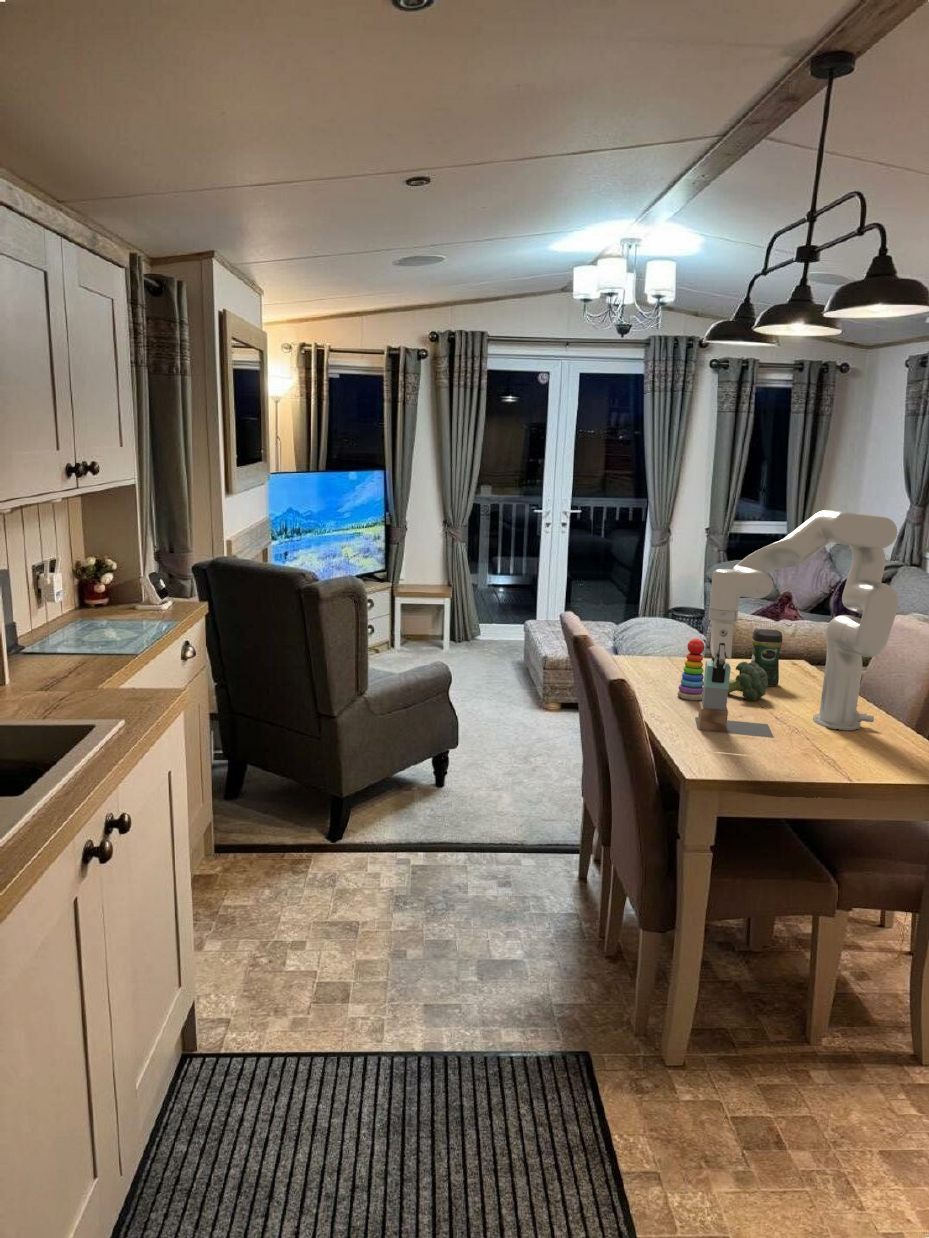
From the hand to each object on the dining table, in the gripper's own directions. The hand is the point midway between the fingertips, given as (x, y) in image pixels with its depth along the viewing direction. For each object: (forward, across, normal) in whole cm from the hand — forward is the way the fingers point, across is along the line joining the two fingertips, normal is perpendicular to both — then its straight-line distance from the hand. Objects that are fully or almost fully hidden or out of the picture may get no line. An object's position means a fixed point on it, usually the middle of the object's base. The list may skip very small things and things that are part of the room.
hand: (716, 678), depth 235 cm
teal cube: (+2, 0, 0) cm, 2 cm away
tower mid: (+8, 0, 0) cm, 8 cm away
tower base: (+14, 0, 0) cm, 14 cm away
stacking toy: (+15, +30, +4) cm, 34 cm away
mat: (+14, +2, -6) cm, 16 cm away
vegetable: (+15, +36, -13) cm, 41 cm away
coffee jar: (+15, +56, -21) cm, 62 cm away
